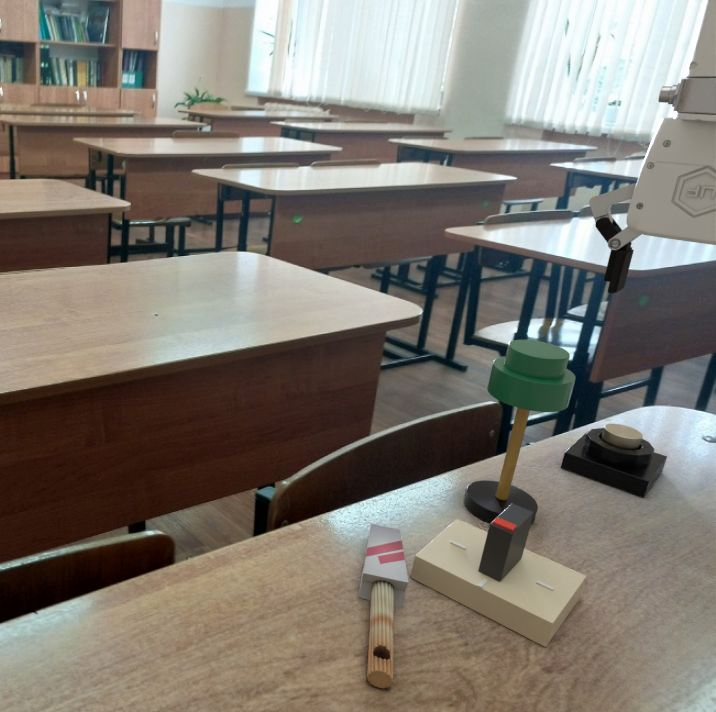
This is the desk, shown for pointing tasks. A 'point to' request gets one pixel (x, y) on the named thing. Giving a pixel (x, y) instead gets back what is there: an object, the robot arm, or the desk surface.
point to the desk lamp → (521, 416)
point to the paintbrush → (383, 598)
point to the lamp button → (621, 436)
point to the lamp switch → (614, 463)
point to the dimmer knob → (505, 542)
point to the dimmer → (499, 583)
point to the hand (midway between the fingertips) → (674, 301)
